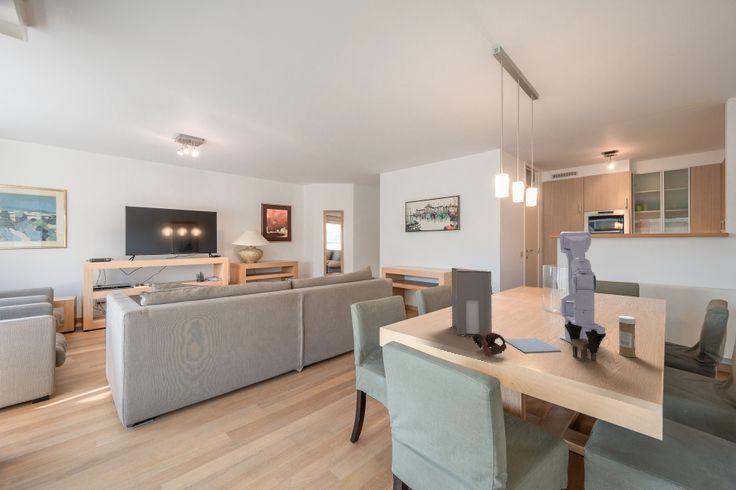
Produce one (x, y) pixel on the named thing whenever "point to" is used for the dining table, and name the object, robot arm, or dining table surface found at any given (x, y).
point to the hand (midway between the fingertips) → (584, 348)
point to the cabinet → (471, 302)
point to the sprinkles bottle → (627, 336)
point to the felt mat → (531, 345)
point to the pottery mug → (490, 343)
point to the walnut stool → (582, 349)
